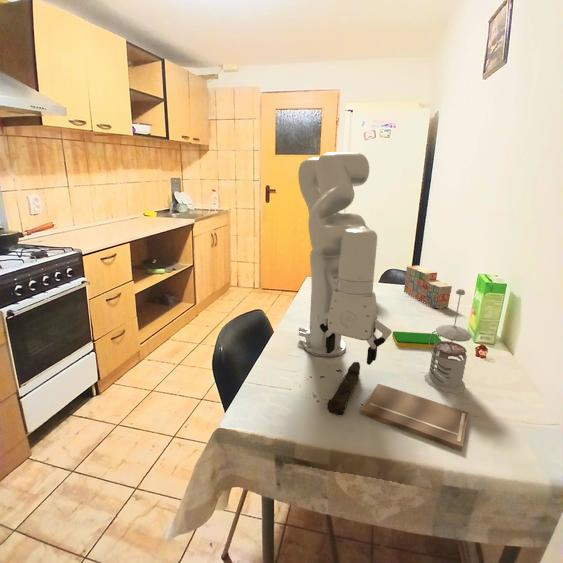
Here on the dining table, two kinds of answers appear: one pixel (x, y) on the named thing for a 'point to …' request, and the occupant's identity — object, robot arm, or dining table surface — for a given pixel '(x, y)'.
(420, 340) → the dish sponge
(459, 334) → the french press
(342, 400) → the hand tool
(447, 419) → the board
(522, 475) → the dining table surface
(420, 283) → the stack of blocks
